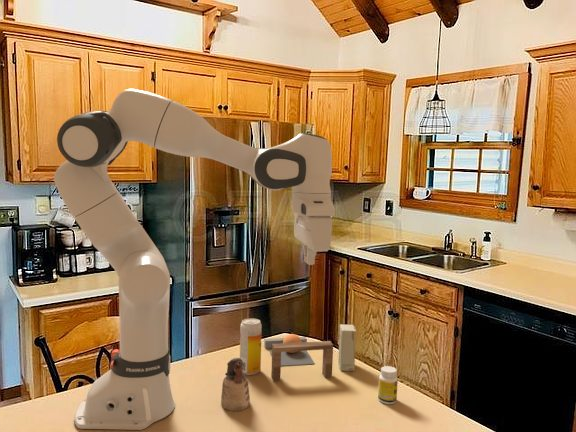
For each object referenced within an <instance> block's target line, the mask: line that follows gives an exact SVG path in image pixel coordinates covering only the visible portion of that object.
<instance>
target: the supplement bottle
mask: <svg viewBox="0 0 576 432" xmlns="http://www.w3.org/2000/svg"><path fill="white" fill-rule="evenodd" d="M397 375H398V369H397V368H396V367H393V366H389V365H384V366H381V368H380V375H379V377H378V393H377V398H378V401H379V402H380V403H382V404H385V405H393V404H396V403H397V401H398V400H397V398H398V397H397V396H398V382H399V381H398V379H399V378H398V376H397Z"/></svg>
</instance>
